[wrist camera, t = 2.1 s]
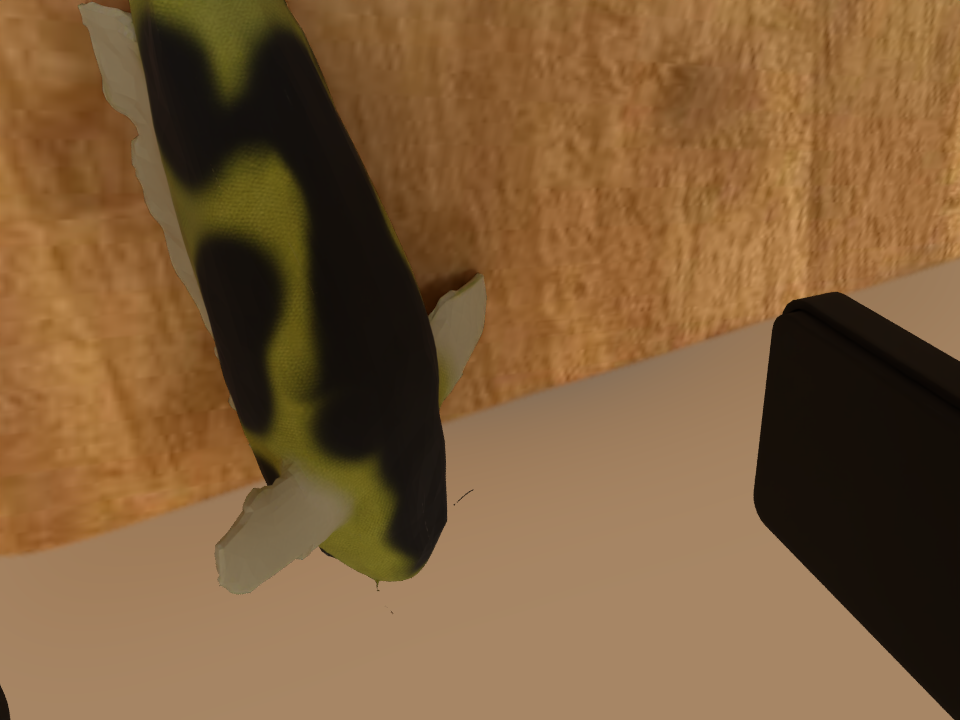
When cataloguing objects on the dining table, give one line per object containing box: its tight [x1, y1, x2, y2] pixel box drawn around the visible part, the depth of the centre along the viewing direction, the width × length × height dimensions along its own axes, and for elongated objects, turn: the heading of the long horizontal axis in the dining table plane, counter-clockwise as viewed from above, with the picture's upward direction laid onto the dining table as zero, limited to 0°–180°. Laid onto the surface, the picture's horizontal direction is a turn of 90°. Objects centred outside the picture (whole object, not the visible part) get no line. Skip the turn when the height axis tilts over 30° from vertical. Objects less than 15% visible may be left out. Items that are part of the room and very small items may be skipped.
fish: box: [78, 0, 487, 613], centre depth 18 cm, size 11×24×10 cm
